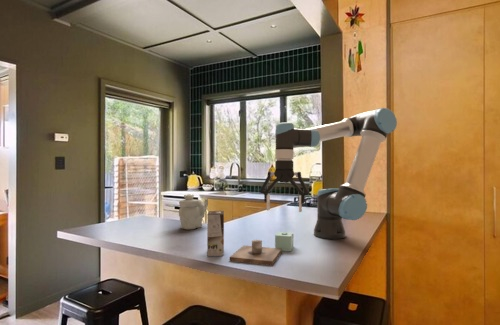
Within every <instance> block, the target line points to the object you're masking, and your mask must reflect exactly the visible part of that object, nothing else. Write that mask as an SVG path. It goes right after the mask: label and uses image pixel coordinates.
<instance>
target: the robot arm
mask: <svg viewBox="0 0 500 325" xmlns="http://www.w3.org/2000/svg"><path fill="white" fill-rule="evenodd" d="M397 124H398V122H397V117H396V115H395V112H393V111H392V110H391V109H390V108H387V107H382V108H376V109H373V110H369V111H363V112H360V113H357V114H355V115H353V116H350V117H346V118H343V119H342V120H341V121H337V122H332V123H327V124H323V125H318V126H313V127H308V128H296V127H295V126H294V123H292V122H279V123H277V124H276V125H275V150H274V151H275V154H274V155H275V156H274V157H275V163H274V164H275V165H274V166H275V167H274V168H275V170H274V171H272V170H271V171H268V172H267V176H266V178H265V180H264V182H263V185H262V186H261V188H260V191H259V193H260V194H262V195H264V196H263V197H264V199H263V200H264V203H266V211H271V210H270V209H271V194H269V193H270V192H271V191H272V190H273V188H274V187H275V186H276V185H277V184H278V183H279V182H280V183H290V184H291V185H292V186H293V188H294V189H296V191H297V192H298V193H299V196H298V212H299V213H302V212H303V208H302V205H303V204H305V196H307V195H309V194H310V190H308V187H307V185H306V184H305V181H304V180H303V176H302V172H301V171H297V172H295V171H294V161H293V160H294V149H296V148H305V147H307V148H308V147H309V148H313V147H317V146H318V145H319V144H320V142H325V141H330V140H333V139H337V138H342V137H346V138H351V137H360V136H361V139H360V143H359V145H358V148H357V150H356V152H355V156H354V158H353V161H352V164H351V166H350V168H349V171H348V174H347V177H346V179H345V182H344V183H343V184H340V186H339V188H322V189H318V191H317V195H316V198H317V200H316V201H317V202H316V204H317V205H316V206H317V207H316V208H317V217H316V218H317V219H316V223H315V225H314V228H313V236H314V237H317V238H321V239H329V240H330V239H331V240H337V239H338V240H339V239H344V238H346V233H347V232H346V230H345V229H346V228H345V226H344V223H343V220H347V221H357V220H359V219H361V218H362V217H363V216H364V215H365V214H366V212H367V209H368V203H367V199H366V192H365V187H366V184H367V182H368V180H369V176H370V173H371V170H372V168H373V165H374V163H375V160H376V158H377V155H378V151H379V149H380V146H381V143H383V142H385V141H386V140H387V137H388V135H389V134H391V133H392V132H395V131H396V128H397ZM273 176H275V179H274V180H273V182H272V183H271V184H270V185H269V183H270V181H271V179H272V177H273ZM294 176H295V177H296V178H297V179H298V181H299V184H300V185H301V187H300V186H299V185H298V183H297V182H296V181H295V179H294ZM268 185H269V186H268ZM266 188H267V189H266ZM302 189H303V190H302Z"/></svg>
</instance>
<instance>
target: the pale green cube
mask: <svg viewBox="0 0 500 325" xmlns="http://www.w3.org/2000/svg"><path fill="white" fill-rule="evenodd" d="M274 248H279V249H282V252H284V251H285V252H292V251H293V248H294V232H285V231H277V233H276V234H275V235H274Z"/></svg>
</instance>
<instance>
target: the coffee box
mask: <svg viewBox="0 0 500 325" xmlns="http://www.w3.org/2000/svg"><path fill="white" fill-rule="evenodd" d="M224 213H225V211H224V210H209V211H208V212H207V214H206V217H207V218H206V219H207V222H206V223H207V226H206V227H207V232H206V234H207V238H206V239H207V240H206V242H207V244H206V245H207V246H206V247H207V249H206V250H207V252H206V253H207V257H222V256H224V247H225V246H224V245H225V244H224V243H225V214H224Z"/></svg>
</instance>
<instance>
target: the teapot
mask: <svg viewBox="0 0 500 325" xmlns="http://www.w3.org/2000/svg"><path fill="white" fill-rule="evenodd" d="M194 197H195V194H190V193H188V194H184V195H183V198H184V199H182V200H179V202H178V204H179V209H178V216H179V221H180V228H181V229H184V230H194V229H196V228H197V229H199V228H201V227H203V219H204V218H205V214H206V212H207V208H208V205H209V200H208V199H209V198H207V197H205V198H204V201H203V200H201V199H194Z"/></svg>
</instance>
